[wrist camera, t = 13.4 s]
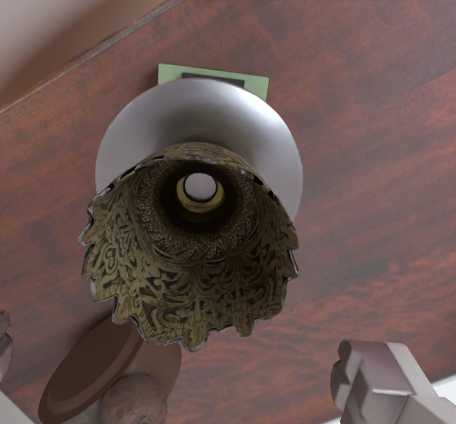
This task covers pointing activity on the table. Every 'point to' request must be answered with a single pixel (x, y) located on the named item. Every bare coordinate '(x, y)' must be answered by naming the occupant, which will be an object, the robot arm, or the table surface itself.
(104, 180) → the brushed steel disc
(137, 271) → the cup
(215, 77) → the scale
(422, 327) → the table surface
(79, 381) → the alarm clock
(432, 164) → the table surface
